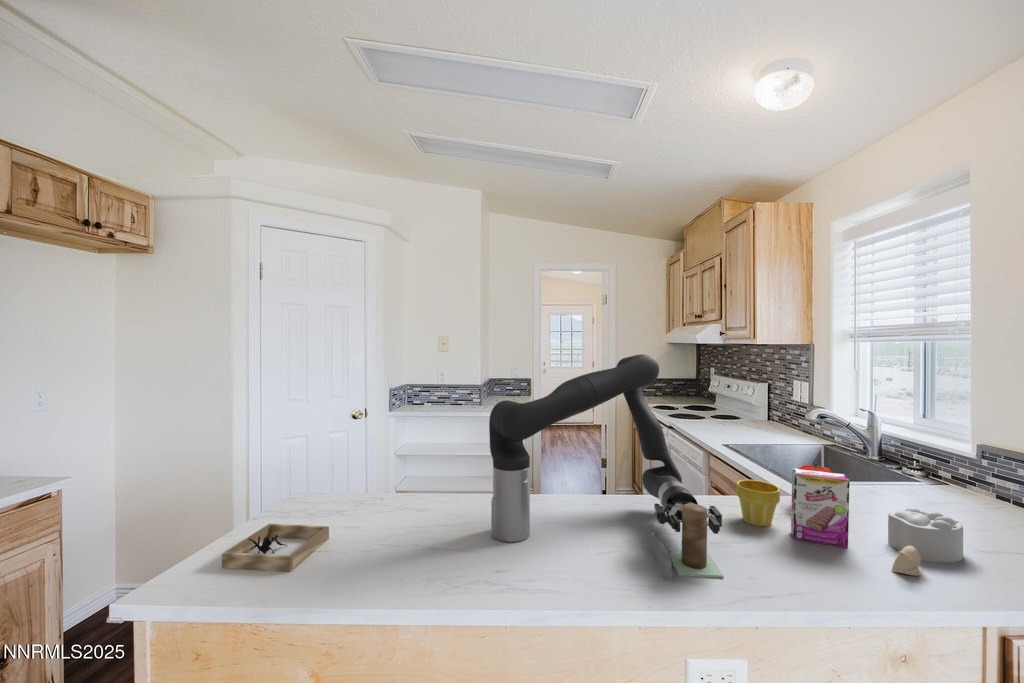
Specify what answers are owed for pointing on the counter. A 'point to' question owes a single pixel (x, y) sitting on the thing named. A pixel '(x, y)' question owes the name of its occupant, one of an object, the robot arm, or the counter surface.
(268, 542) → the creature
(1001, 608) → the counter surface
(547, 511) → the counter surface
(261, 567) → the wooden frame
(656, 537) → the low wall
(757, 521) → the plant pot
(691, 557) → the walnut canister
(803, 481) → the candy bar box
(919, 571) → the decorative ornament
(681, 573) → the pad
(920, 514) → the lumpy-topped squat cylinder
